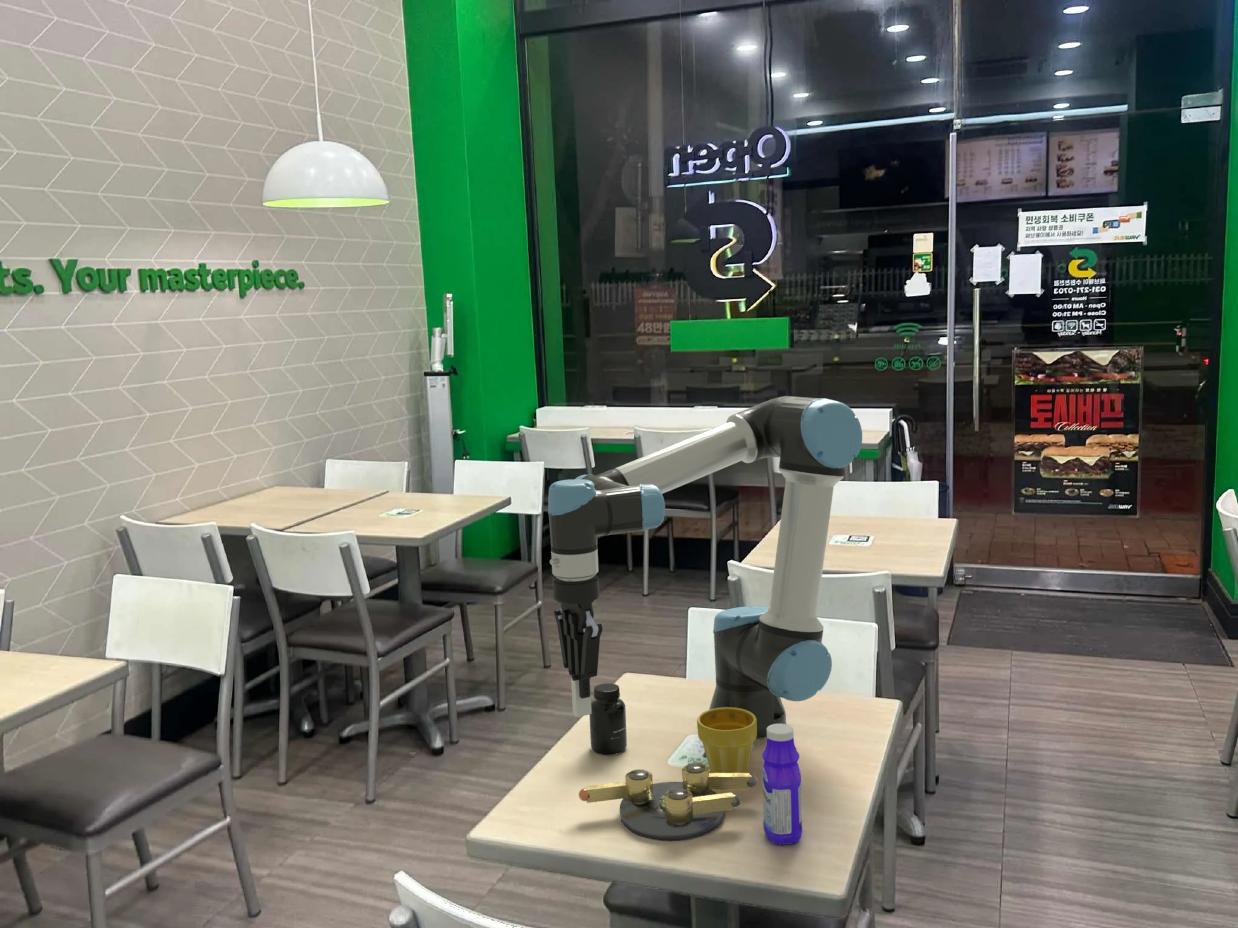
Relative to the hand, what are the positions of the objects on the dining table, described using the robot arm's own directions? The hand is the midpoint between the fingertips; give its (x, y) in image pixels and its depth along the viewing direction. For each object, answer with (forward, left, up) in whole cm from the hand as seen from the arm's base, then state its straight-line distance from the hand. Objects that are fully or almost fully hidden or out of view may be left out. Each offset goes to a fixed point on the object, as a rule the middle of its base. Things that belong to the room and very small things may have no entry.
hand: (582, 713), depth 171 cm
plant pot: (-26, -5, -16) cm, 31 cm away
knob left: (-22, +6, -13) cm, 26 cm away
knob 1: (-4, +5, -13) cm, 15 cm away
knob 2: (-17, +13, -13) cm, 25 cm away
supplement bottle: (-7, -20, -16) cm, 27 cm away
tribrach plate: (-13, +8, -16) cm, 22 cm away
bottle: (-28, +19, -16) cm, 37 cm away
